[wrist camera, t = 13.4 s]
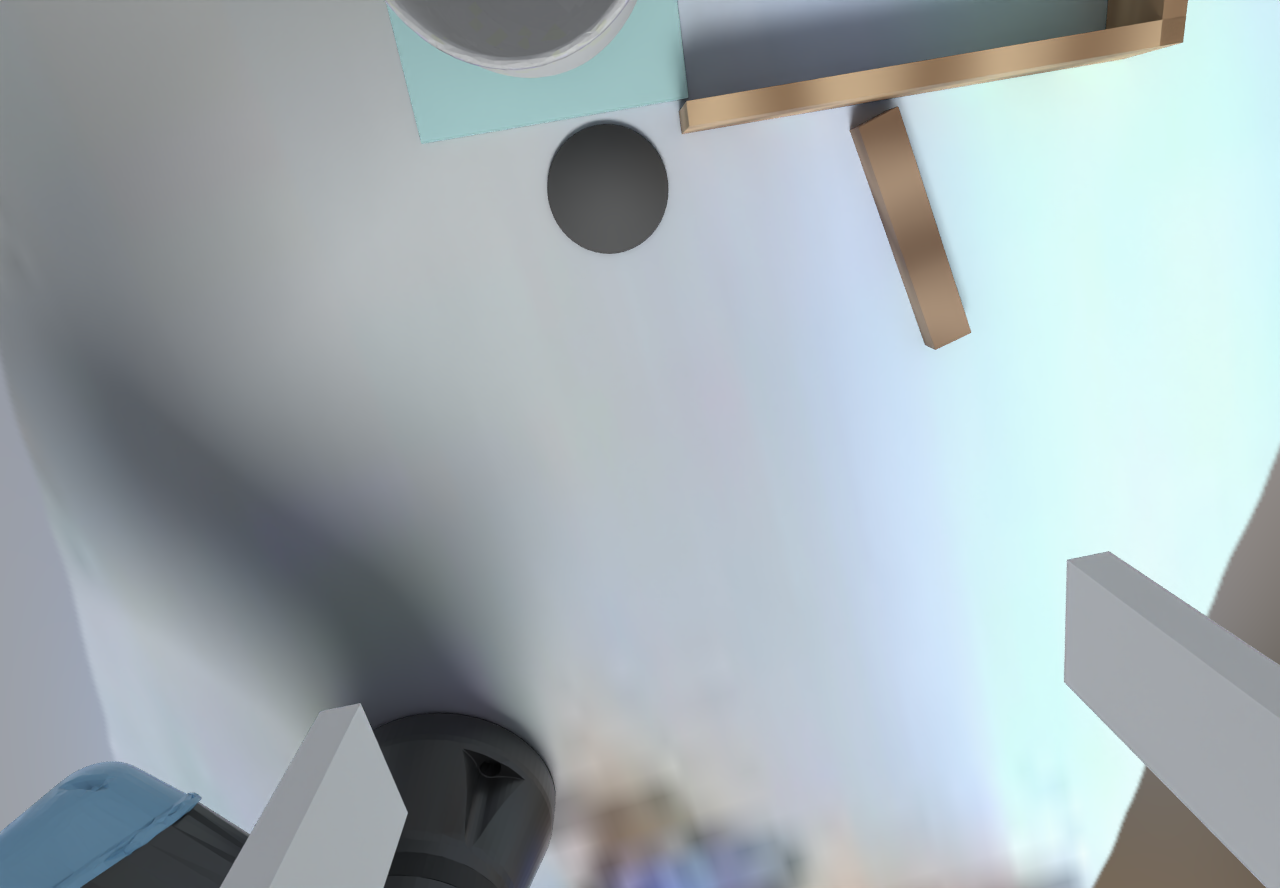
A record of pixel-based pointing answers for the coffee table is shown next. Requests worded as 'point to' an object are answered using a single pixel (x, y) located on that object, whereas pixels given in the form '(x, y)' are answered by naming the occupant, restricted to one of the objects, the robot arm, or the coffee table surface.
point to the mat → (544, 80)
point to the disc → (607, 188)
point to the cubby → (951, 69)
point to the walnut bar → (910, 227)
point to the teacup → (517, 31)
